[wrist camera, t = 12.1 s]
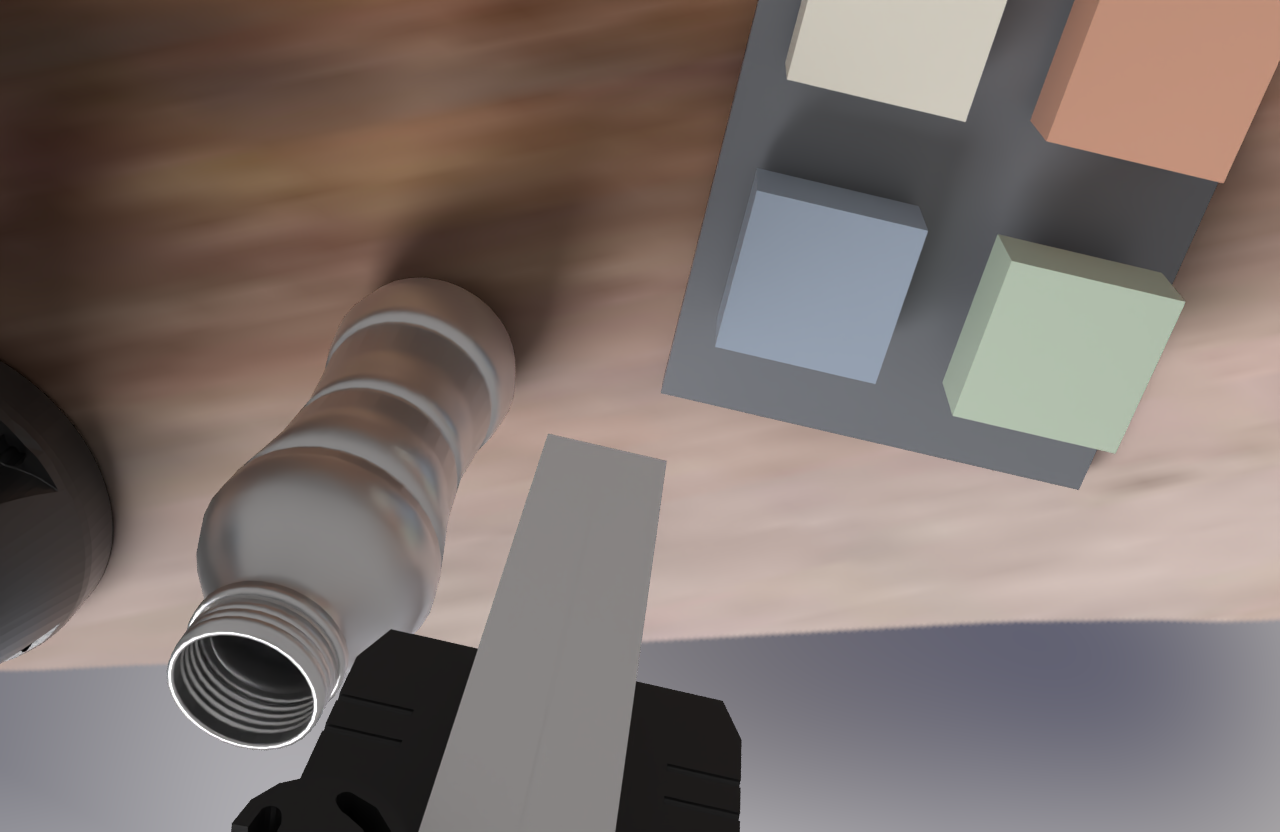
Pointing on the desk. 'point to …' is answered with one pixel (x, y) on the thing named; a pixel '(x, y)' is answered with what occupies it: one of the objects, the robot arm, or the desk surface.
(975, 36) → the key cream
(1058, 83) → the key terracotta
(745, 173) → the keypad
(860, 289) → the key slate
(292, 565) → the plastic bottle
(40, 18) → the desk surface
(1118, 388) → the key sage
